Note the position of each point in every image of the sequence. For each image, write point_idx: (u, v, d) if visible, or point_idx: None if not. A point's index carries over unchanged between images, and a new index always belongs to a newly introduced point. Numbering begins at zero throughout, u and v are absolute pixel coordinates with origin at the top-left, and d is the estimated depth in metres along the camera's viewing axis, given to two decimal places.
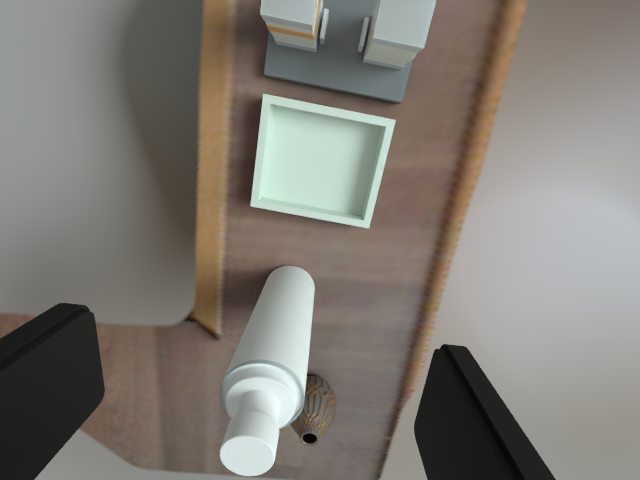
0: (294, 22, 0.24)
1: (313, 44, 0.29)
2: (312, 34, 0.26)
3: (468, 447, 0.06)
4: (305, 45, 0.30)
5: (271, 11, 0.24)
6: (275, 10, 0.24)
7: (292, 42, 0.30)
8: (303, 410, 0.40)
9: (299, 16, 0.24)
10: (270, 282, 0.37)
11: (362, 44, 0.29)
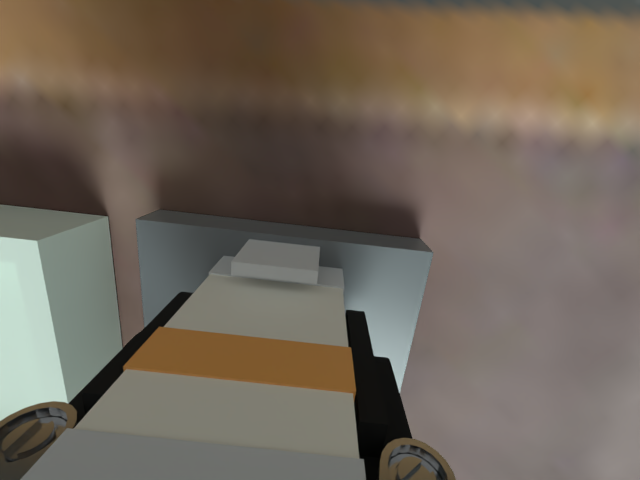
0: None
1: None
2: None
3: None
4: None
5: None
6: None
7: None
8: None
9: None
10: None
11: None
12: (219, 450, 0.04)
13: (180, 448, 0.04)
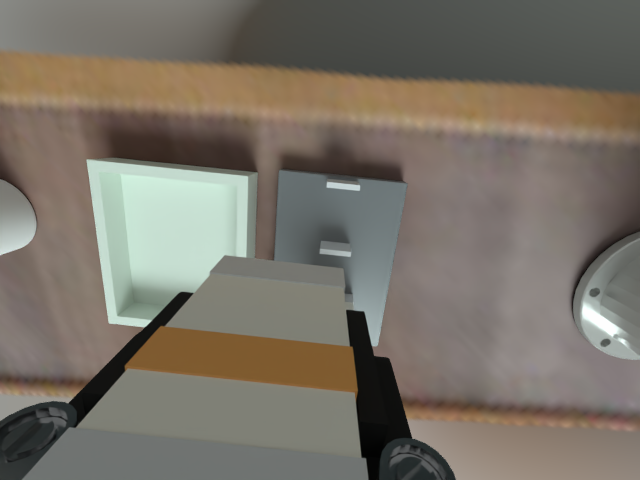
0: None
1: None
2: None
3: None
4: None
5: None
6: None
7: None
8: None
9: None
10: None
11: None
12: (221, 449, 0.04)
13: (182, 447, 0.04)
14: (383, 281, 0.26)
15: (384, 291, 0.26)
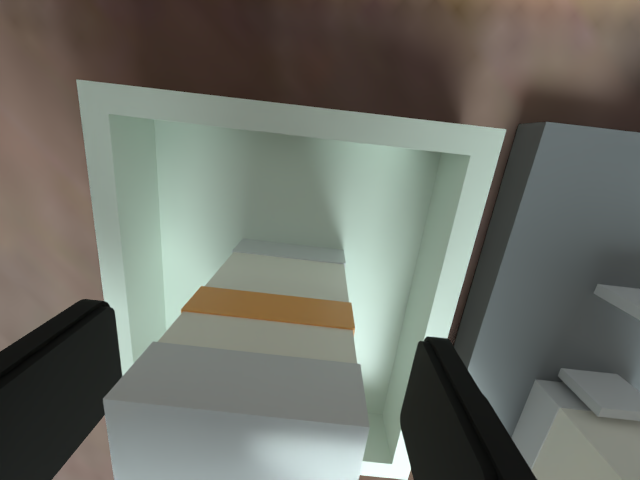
0: None
1: None
2: None
3: (445, 432, 0.06)
4: None
5: (129, 441, 0.05)
6: (137, 457, 0.05)
7: None
8: None
9: None
10: None
11: (603, 413, 0.11)
12: (259, 356, 0.06)
13: (233, 354, 0.06)
14: None
15: None
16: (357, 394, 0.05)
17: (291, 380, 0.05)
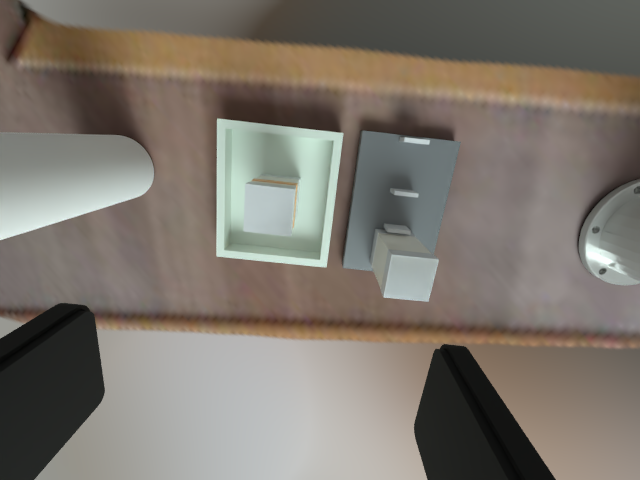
0: (245, 214, 0.26)
1: None
2: None
3: (468, 447, 0.06)
4: None
5: (248, 194, 0.25)
6: (249, 198, 0.25)
7: None
8: None
9: (248, 220, 0.26)
10: (120, 148, 0.28)
11: (389, 231, 0.32)
12: (273, 184, 0.26)
13: (267, 183, 0.26)
14: (436, 221, 0.33)
15: (437, 230, 0.34)
16: (293, 188, 0.26)
17: (280, 186, 0.26)
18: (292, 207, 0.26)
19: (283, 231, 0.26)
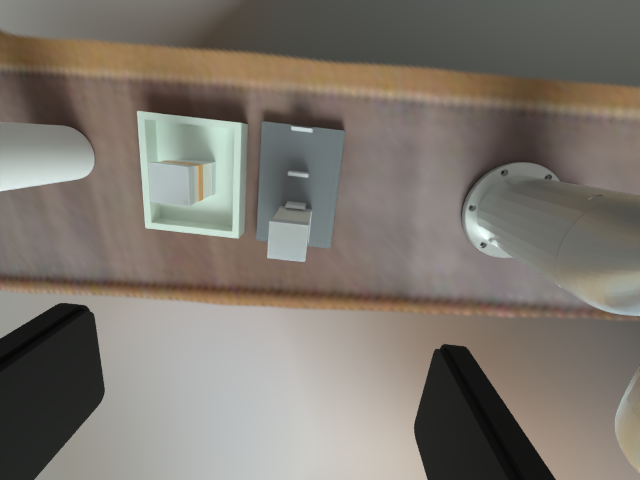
0: (152, 187, 0.32)
1: None
2: None
3: (468, 447, 0.06)
4: None
5: (151, 171, 0.31)
6: (153, 174, 0.31)
7: None
8: None
9: (153, 192, 0.32)
10: (58, 135, 0.35)
11: (286, 206, 0.37)
12: (175, 163, 0.32)
13: (170, 163, 0.32)
14: (332, 199, 0.39)
15: (333, 207, 0.39)
16: (189, 166, 0.32)
17: (179, 165, 0.32)
18: (188, 182, 0.32)
19: (182, 202, 0.32)
